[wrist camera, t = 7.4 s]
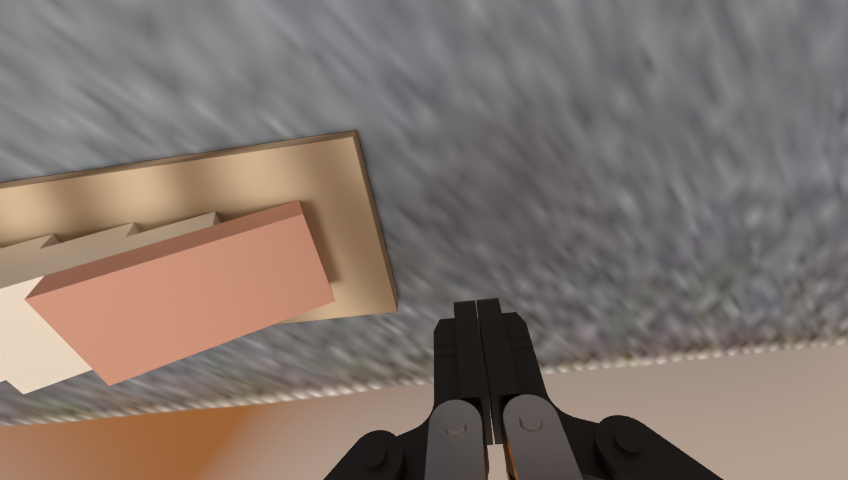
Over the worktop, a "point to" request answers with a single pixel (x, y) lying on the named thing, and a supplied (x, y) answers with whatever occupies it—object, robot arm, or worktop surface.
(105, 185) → the board
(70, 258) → the domino
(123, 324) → the domino
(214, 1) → the worktop surface
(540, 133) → the worktop surface
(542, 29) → the worktop surface
